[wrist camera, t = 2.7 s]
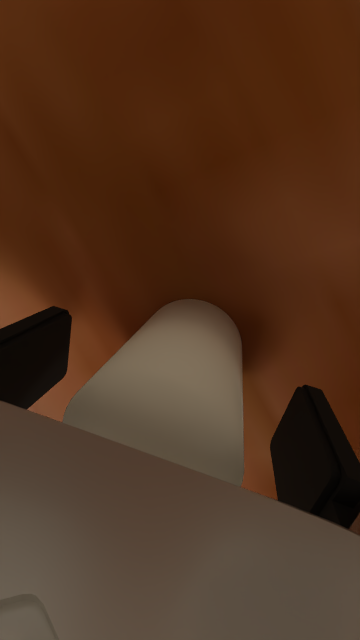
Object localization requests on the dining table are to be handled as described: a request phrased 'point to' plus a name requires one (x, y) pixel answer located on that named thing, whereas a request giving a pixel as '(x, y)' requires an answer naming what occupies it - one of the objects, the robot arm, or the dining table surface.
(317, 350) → the dining table surface
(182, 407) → the cream cap
